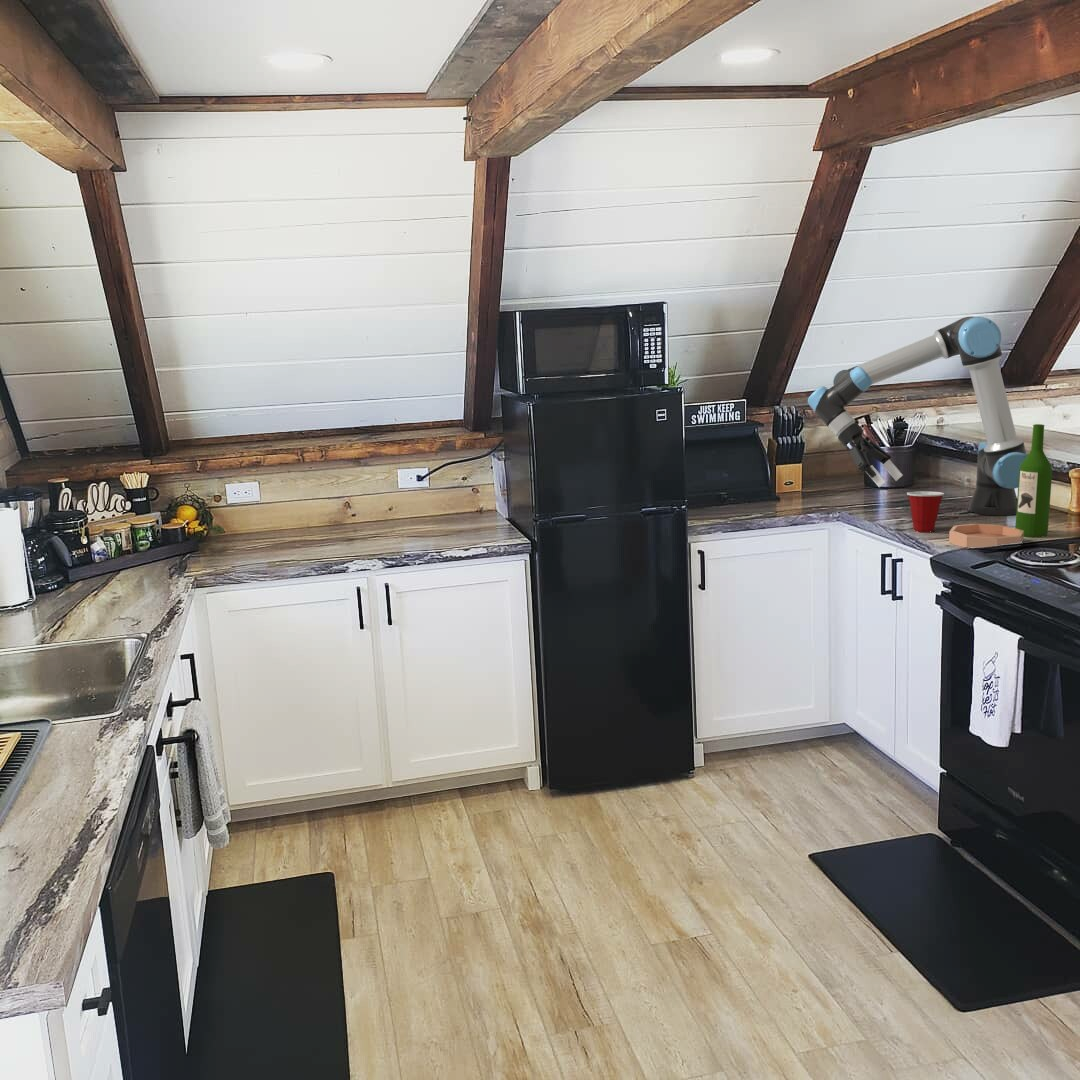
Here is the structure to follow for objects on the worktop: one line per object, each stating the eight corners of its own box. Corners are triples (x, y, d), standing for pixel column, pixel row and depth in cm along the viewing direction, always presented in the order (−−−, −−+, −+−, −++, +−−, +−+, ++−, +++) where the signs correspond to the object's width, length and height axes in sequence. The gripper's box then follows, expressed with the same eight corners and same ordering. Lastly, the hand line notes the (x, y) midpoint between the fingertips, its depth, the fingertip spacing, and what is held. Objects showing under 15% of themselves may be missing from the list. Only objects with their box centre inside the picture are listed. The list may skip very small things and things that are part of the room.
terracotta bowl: (991, 533, 335) (992, 521, 334) (1036, 546, 317) (1037, 534, 316) (936, 538, 329) (937, 527, 329) (979, 552, 312) (980, 540, 311)
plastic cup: (937, 526, 346) (939, 488, 343) (946, 534, 335) (948, 494, 333) (901, 527, 347) (903, 488, 344) (909, 534, 336) (910, 495, 334)
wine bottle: (1009, 534, 332) (1016, 425, 325) (1022, 530, 338) (1029, 422, 331) (1040, 539, 326) (1048, 427, 319) (1052, 533, 332) (1060, 424, 325)
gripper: (854, 433, 362) (897, 483, 356) (821, 442, 343) (866, 495, 337) (870, 417, 357) (915, 467, 351) (838, 425, 338) (884, 479, 332)
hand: (891, 481), depth 344 cm, fingers open, 13 cm apart
